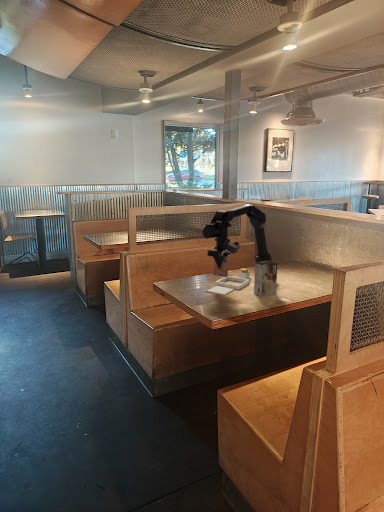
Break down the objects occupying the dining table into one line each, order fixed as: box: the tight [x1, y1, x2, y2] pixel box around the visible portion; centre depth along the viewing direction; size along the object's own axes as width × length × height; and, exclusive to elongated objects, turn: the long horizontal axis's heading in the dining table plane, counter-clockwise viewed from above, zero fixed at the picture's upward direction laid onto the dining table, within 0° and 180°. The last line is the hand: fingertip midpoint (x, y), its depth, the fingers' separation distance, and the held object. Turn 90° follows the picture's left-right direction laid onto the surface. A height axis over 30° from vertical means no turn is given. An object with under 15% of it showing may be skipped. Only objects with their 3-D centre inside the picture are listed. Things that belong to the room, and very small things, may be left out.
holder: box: [215, 270, 252, 291], centre depth 197 cm, size 14×22×4 cm, turn 147°
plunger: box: [239, 267, 249, 273], centre depth 202 cm, size 4×4×4 cm
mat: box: [206, 285, 235, 296], centre depth 182 cm, size 10×10×1 cm
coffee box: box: [253, 260, 278, 297], centre depth 177 cm, size 9×6×16 cm
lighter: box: [212, 257, 230, 278], centre depth 179 cm, size 8×3×10 cm, turn 53°
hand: (221, 267), depth 180 cm, fingers closed on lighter, 3 cm apart
